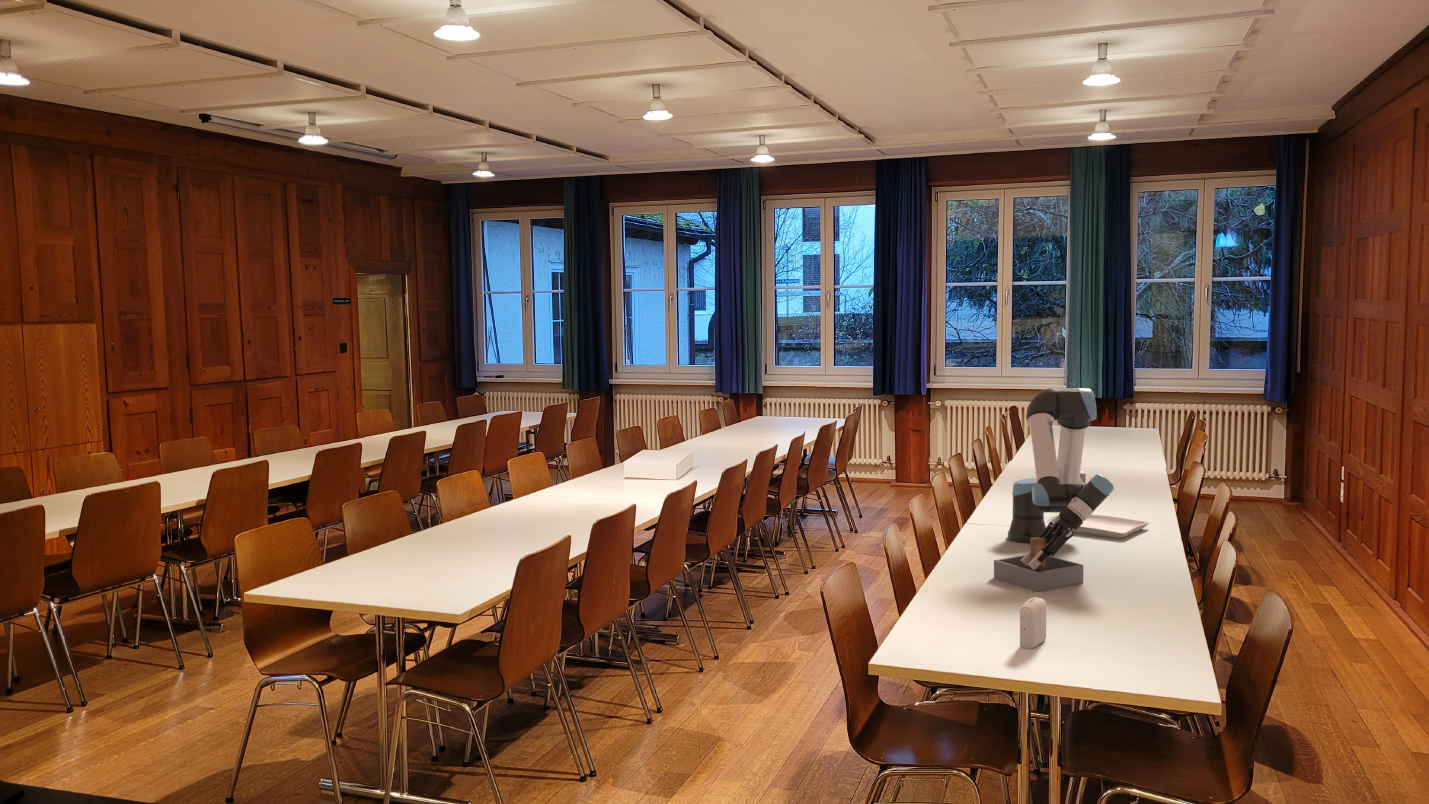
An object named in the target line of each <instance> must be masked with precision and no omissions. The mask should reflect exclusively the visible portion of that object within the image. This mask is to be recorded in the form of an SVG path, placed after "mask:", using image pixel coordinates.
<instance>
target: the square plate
mask: <svg viewBox="0 0 1429 804" xmlns="http://www.w3.org/2000/svg"><path fill="white" fill-rule="evenodd" d="M1149 524H1150V522H1148V521H1144V520H1137V519H1130V518H1124V517H1118V516H1110V515H1109V516H1108V515H1102V514H1101V515H1099V514H1091V515H1090V516H1089V517H1088V518H1087V519H1086V520H1085V521H1083V524H1082V525H1081V526H1080V527H1079V528H1078V529H1077V530H1074V529H1072V530H1071V532H1072V533H1073V534H1074V533H1075V534H1082V535H1089V536H1096V537H1103V538H1110V539H1120V538H1124V537H1127V536H1128V535H1131V534H1133V533H1135V532H1138V531H1140V530H1142V529H1144V528H1146V527H1147V526H1148V525H1149Z"/></svg>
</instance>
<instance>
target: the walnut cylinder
mask: <svg viewBox="0 0 1429 804" xmlns="http://www.w3.org/2000/svg"><path fill="white" fill-rule="evenodd" d="M1029 544H1030V545H1029V546H1030V547H1029V548H1030V549H1029V551H1030V562H1031V561H1032V560H1033V558H1034V557H1035V556H1036V555H1037V554H1038V553H1039V552H1040V551H1041V550H1042V548H1045V547H1046V546H1047V545H1046V539H1045V538H1040V537H1034V538H1030V543H1029ZM1042 551H1043V550H1042ZM1043 552H1044V551H1043ZM1030 570H1032V571H1035V572H1042V571H1046V558H1045V560H1044V561H1043V562H1042V563H1041V564H1040V565H1039V566H1038V567H1037V568H1036V569H1035V570H1033V569H1032V568H1031V567H1030Z"/></svg>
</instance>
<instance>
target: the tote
mask: <svg viewBox="0 0 1429 804" xmlns="http://www.w3.org/2000/svg"><path fill="white" fill-rule="evenodd" d="M1025 555H1026V554H1023V555H1022V554H1021V555H1017V556H1011V557H1005V558H999V559H995V560H993V578H994V579H996V580H999V581H1002V582H1003V581H1004V582H1006V583H1009V584H1013V585H1014V586H1015V585H1016V586H1018V587H1021V588H1024V589H1028V590H1030V591H1034V592H1039V593H1040V592H1043V591H1048V590H1054V589H1059V588H1065V587H1068V586H1069V587H1070V586H1075V585H1081V584H1083V583H1084V564H1081V563H1079V562H1074V561H1070V560H1067V559H1063V558H1061V557H1057V556H1052V555H1050V556H1047V557H1046V571H1042V572H1035V571H1032V570H1030V566H1029V565H1028V566H1026V565H1025V564H1024V563H1023V562H1022V561H1021V559H1022V558H1023V557H1024V556H1025Z"/></svg>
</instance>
